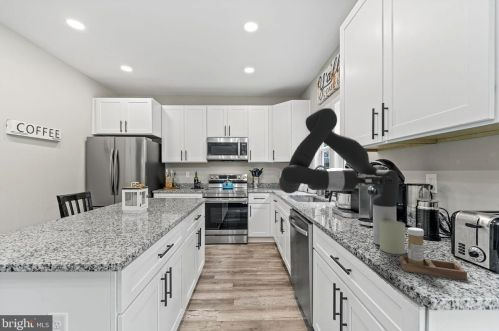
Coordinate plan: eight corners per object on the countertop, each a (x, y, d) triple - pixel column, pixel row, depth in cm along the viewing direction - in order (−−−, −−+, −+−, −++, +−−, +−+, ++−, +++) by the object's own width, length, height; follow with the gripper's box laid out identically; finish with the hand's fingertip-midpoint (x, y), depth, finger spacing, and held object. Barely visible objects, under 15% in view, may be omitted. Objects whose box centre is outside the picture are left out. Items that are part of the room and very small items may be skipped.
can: (393, 246, 107) (392, 218, 107) (411, 253, 98) (410, 223, 98) (374, 247, 105) (374, 219, 105) (391, 254, 96) (391, 224, 96)
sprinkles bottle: (409, 264, 86) (409, 226, 87) (424, 268, 83) (424, 228, 83) (406, 268, 83) (406, 228, 83) (422, 272, 80) (422, 231, 80)
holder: (399, 262, 89) (399, 255, 89) (456, 269, 82) (456, 262, 82) (403, 270, 81) (403, 263, 81) (467, 280, 74) (466, 272, 74)
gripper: (347, 168, 76) (399, 168, 76) (331, 168, 90) (375, 168, 91) (347, 192, 76) (399, 193, 76) (331, 188, 90) (375, 189, 91)
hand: (386, 179), depth 83 cm, fingers open, 8 cm apart
